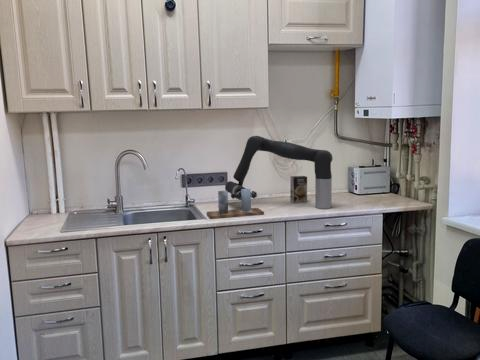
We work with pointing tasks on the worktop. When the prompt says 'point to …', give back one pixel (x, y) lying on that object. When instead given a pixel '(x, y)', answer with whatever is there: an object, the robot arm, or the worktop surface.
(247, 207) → the column
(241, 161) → the robot arm
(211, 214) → the board
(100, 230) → the worktop surface
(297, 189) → the coffee box
